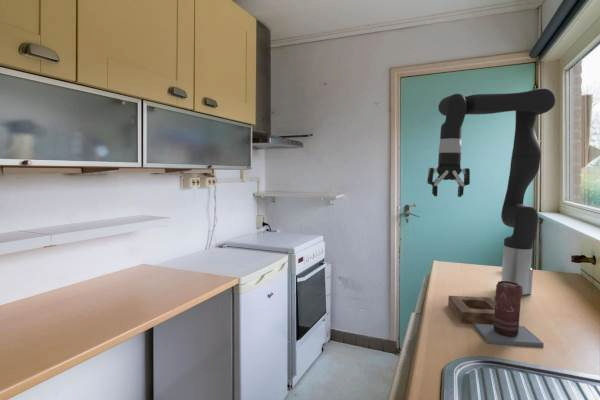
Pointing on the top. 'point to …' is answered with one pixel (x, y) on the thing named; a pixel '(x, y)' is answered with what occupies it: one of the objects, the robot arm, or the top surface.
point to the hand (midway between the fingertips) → (447, 196)
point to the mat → (521, 338)
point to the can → (507, 308)
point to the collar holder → (473, 309)
